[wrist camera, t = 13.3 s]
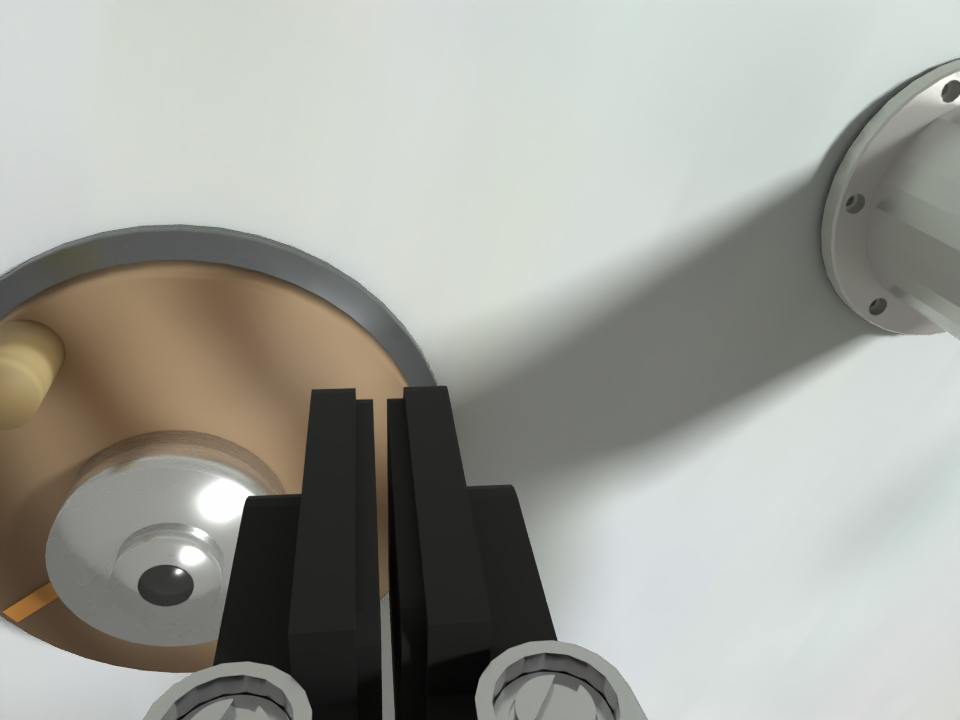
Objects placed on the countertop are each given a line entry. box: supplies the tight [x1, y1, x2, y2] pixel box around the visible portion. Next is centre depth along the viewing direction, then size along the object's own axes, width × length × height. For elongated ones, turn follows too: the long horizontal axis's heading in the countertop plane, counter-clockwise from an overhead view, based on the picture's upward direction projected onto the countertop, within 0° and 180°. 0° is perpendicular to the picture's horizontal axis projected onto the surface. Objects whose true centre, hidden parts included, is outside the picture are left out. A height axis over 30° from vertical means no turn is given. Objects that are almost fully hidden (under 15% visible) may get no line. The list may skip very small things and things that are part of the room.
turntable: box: [0, 260, 410, 673], centre depth 33 cm, size 20×20×5 cm
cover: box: [45, 430, 286, 646], centre depth 33 cm, size 9×9×4 cm
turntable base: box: [0, 224, 437, 387], centre depth 35 cm, size 22×22×3 cm
